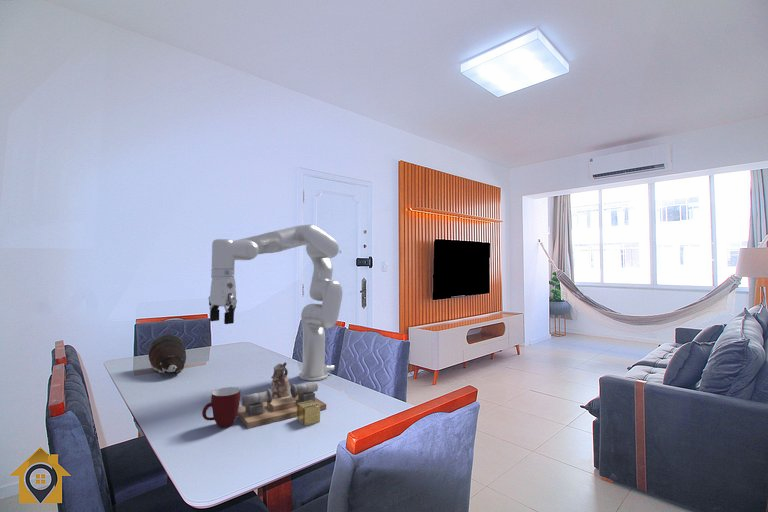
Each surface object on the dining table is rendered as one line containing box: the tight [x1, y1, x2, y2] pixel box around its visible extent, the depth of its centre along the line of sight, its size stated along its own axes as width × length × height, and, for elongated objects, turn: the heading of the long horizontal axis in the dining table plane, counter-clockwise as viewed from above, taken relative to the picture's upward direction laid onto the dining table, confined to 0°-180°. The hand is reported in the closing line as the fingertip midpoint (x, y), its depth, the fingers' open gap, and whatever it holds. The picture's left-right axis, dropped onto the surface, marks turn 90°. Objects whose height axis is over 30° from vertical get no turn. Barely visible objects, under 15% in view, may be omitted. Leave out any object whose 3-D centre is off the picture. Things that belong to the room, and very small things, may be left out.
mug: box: [201, 386, 241, 429], centre depth 112 cm, size 10×8×10 cm
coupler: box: [296, 400, 321, 427], centre depth 117 cm, size 6×5×5 cm
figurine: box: [270, 361, 291, 400], centre depth 138 cm, size 7×7×12 cm
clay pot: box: [148, 334, 187, 376], centre depth 166 cm, size 15×15×25 cm
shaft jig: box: [236, 381, 327, 429], centre depth 124 cm, size 26×14×8 cm, turn 127°
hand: (221, 322), depth 132 cm, fingers open, 9 cm apart
